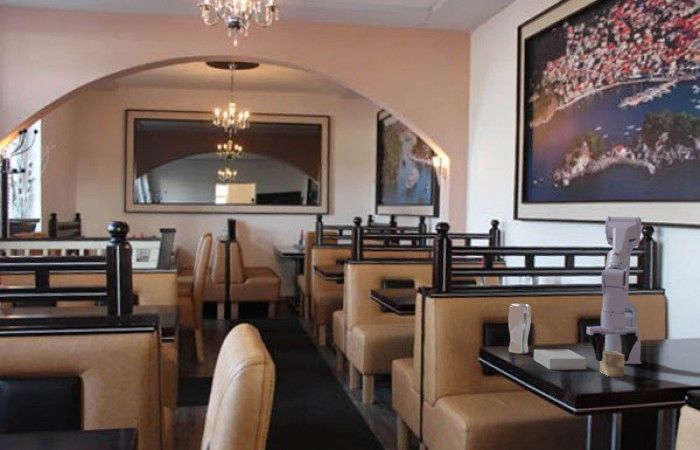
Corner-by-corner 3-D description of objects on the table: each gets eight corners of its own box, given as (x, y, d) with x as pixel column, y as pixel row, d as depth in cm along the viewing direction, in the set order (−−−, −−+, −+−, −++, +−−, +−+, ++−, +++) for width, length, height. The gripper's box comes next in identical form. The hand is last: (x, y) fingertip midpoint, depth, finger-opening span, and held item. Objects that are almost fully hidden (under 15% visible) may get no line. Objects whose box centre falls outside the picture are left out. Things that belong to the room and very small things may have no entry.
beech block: (614, 372, 172) (615, 351, 172) (623, 376, 168) (624, 354, 168) (599, 372, 172) (600, 351, 172) (608, 376, 167) (609, 354, 167)
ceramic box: (568, 360, 186) (568, 349, 185) (586, 370, 175) (586, 358, 175) (533, 361, 184) (534, 349, 184) (549, 370, 173) (550, 358, 173)
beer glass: (530, 354, 191) (532, 307, 190) (507, 353, 192) (509, 305, 191) (528, 349, 197) (530, 303, 197) (506, 348, 199) (508, 302, 198)
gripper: (596, 314, 164) (594, 364, 165) (646, 314, 166) (644, 363, 166) (583, 309, 171) (581, 357, 172) (631, 310, 173) (630, 357, 173)
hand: (611, 360), depth 170 cm, fingers open, 7 cm apart
